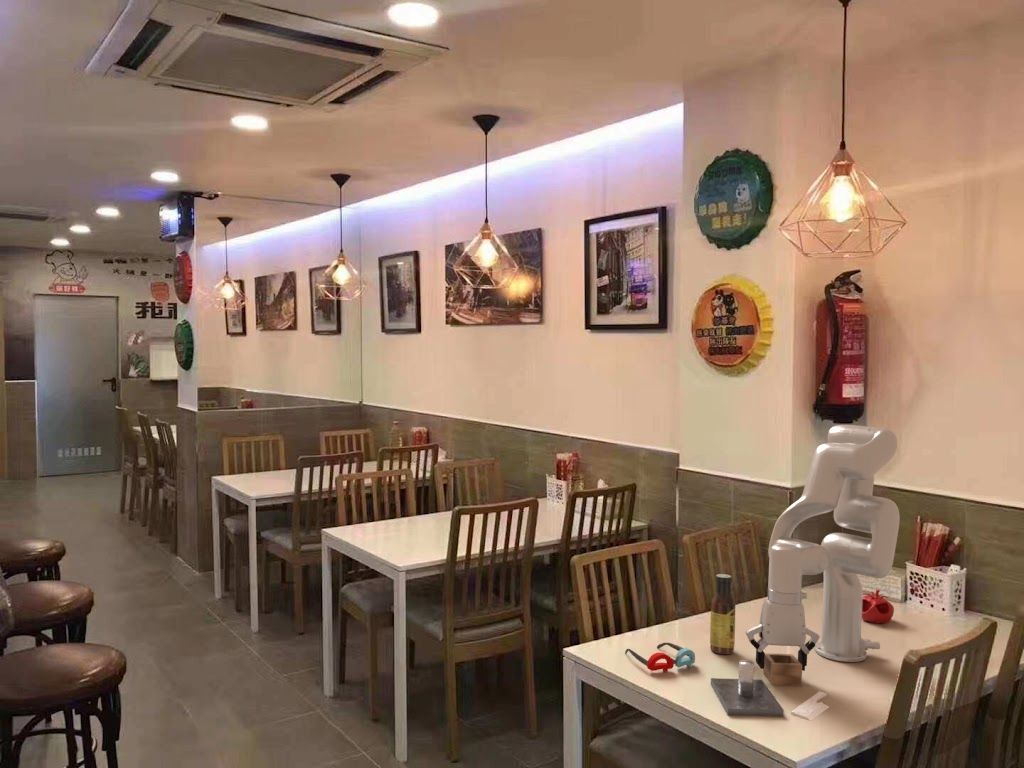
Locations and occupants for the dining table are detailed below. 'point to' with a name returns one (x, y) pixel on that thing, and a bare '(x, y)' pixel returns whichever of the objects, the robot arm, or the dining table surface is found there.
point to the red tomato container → (876, 608)
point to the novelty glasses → (666, 658)
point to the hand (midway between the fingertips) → (780, 667)
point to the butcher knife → (811, 707)
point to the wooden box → (782, 669)
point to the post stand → (746, 694)
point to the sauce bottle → (722, 617)
